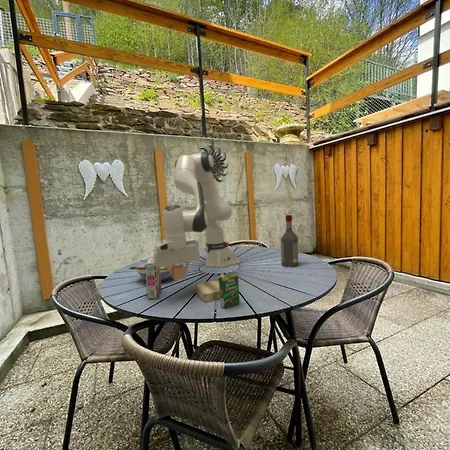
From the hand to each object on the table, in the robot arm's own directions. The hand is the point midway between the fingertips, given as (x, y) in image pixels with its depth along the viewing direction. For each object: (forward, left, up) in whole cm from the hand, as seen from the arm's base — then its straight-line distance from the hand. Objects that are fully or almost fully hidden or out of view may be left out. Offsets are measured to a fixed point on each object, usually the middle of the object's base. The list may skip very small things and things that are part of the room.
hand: (178, 273), depth 117 cm
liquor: (-70, -12, -11) cm, 72 cm away
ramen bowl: (+4, -32, -12) cm, 34 cm away
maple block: (-13, +4, -12) cm, 18 cm away
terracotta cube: (0, 0, -2) cm, 2 cm away
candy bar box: (+10, -10, -12) cm, 18 cm away
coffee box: (-15, +19, -12) cm, 27 cm away
